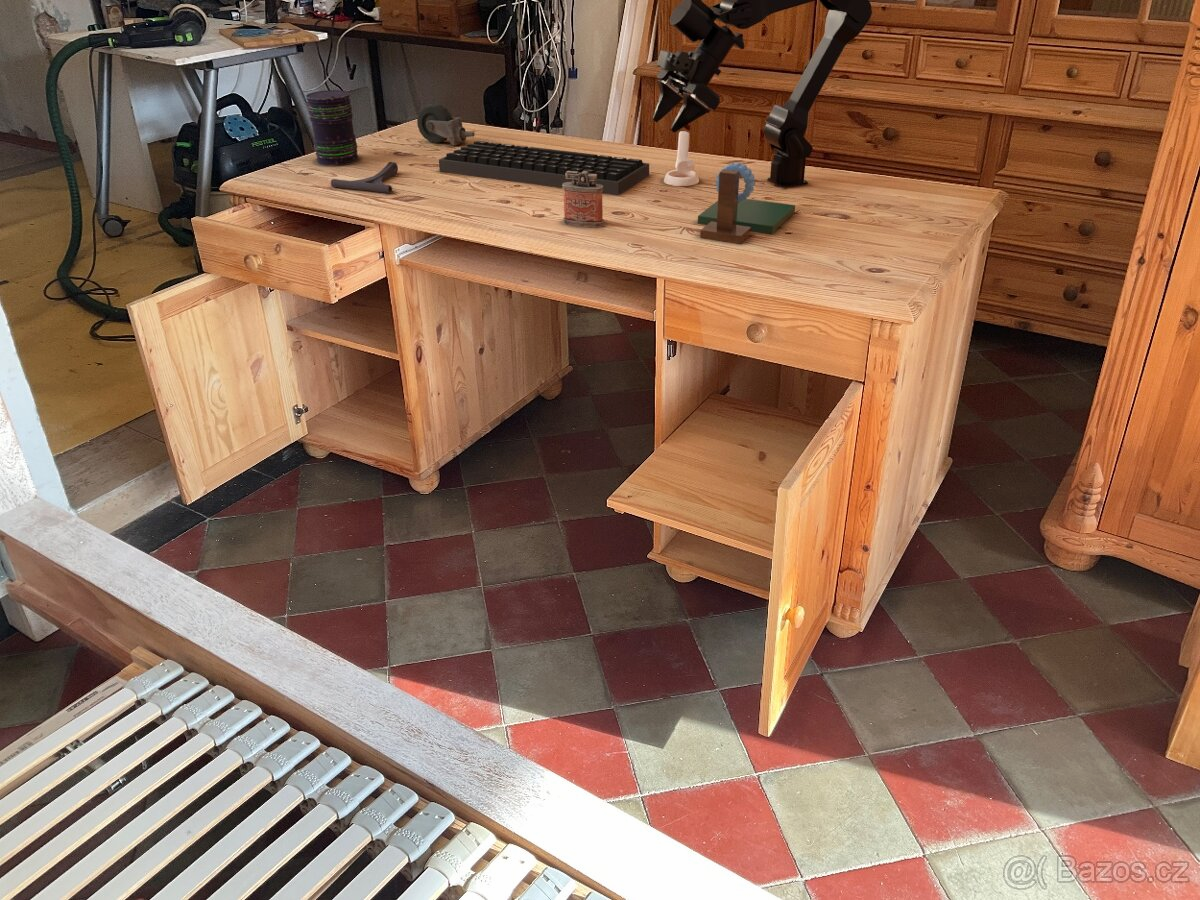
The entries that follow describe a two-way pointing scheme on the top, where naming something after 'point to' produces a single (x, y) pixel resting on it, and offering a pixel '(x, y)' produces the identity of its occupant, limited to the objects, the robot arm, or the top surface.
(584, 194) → the lighter
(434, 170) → the top surface
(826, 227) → the top surface
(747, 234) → the peg stand
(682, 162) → the white piece
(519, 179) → the computer keyboard
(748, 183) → the blue fluted ring
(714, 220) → the cutting board
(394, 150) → the top surface
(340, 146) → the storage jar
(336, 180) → the dark grey branched pipe
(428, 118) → the caster wheel
